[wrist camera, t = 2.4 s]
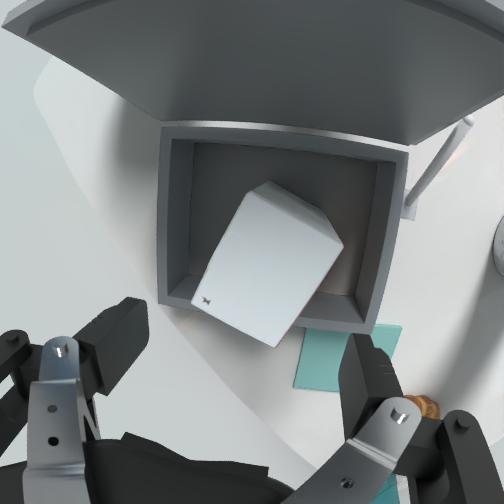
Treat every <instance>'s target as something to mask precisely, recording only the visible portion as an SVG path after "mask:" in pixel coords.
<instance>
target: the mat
mask: <svg viewBox="0 0 504 504" xmlns="http://www.w3.org/2000/svg"><path fill="white" fill-rule="evenodd" d="M401 330H402V327H401V326H396V325H383V324H375V325H374V329H373V332H372V334H370V336H371V338H372V341H373V344H374V347H375V348H381V349H382V350H383V351H384V352H385V353H386V354H387V355H388V356H389V358H390V360H391V358H392V355H393V352H394V350H395V347H396V344H397V342H398V339H399V336H400V333H401ZM350 333H351V332H341V331H331V330H322V329H313V328H306V331H305V336H304V341H303V346H302V350H301V355H300V359H299V364H298V368H297V373H296V377H295V381H294V388H304V389H314V390H325V391H338V392H340V391H339V383H338V372H339V366H340V363H341V360H342V357H343V353H344V350H345V347H346V343H347V340H348V337H349V334H350ZM360 334H362V333H360Z"/></svg>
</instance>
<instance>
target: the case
mask: <svg viewBox="0 0 504 504" xmlns="http://www.w3.org/2000/svg"><path fill="white" fill-rule="evenodd" d="M473 124H474V120H473V117H472V116H471V115H468V116H466V117H464V118H462V119H461V120H459V122H458V124H457V125H456V127H455V128H454V130H453V131H452V133H451V134H450V136H449V137H448V139H447V140H446V142H445V143H444V145H443V146H442V148H441V149H440V151H439V152H438V153H437V155H436V156H435V158H434V159H433V161H432V162H431V163H430V165H429V166H428V168H427V169H426V170H425V172H424V173H423V175H422V176H421V177H420V179H419V180H418V181H417V183H416V184H415V186H414V187H413V188H412V190H407V189H405V182H406V174H407V166H408V156H409V153H408V152H404V151H399V150H395V149H390V148H386V147H381V146H376V145H371V144H365V143H360V142H354V141H348V140H342V139H336V138H329V137H322V136H315V135H307V134H299V133H290V132H280V131H270V130H257V129H243V128H223V127H162V131H161V143H160V157H159V174H158V197H157V285H158V304H163V305H168V306H173V307H178V308H183V309H188V310H194V311H199V312H205V311H203V310H201V309H200V308H198V307H196V306H194V305H192V304H191V301H192V299H193V297H194V294H195V292H196V290H197V288H198V286H199V284H200V282H201V280H202V278H203V276H197V275H191V274H188V267H189V231H190V207H191V189H192V173H193V159H194V146H195V142H196V143H221V144H237V145H251V146H263V147H274V148H284V149H293V150H301V151H309V152H317V153H324V154H331V155H337V156H344V157H350V158H356V159H362V160H367V161H373V162H378V164H377V172H376V181H375V188H374V195H373V202H372V209H371V215H370V221H369V227H368V233H367V239H366V244H365V249H364V255H363V260H362V264H361V269H360V274H359V279H358V283H357V287H356V292H355V296H354V297H352V296H343V295H335V294H326V293H318V292H315V293H314V295H313V296H312V298H311V299H310V301H309V302H308V303H307V305H306V306H305V308H304V309H303V311H302V312H301V314H300V315H299V316H298V318H297V319H296V321H295V322H294V324H293V325H292V326H297V327H305V328H313V329H322V330H331V331H341V332H351V333H362V334H372V332H373V329H374V325H375V322H376V319H377V315H378V312H379V308H380V305H381V301H382V297H383V294H384V290H385V286H386V282H387V278H388V274H389V270H390V265H391V261H392V256H393V252H394V247H395V242H396V237H397V232H398V227H399V221H400V218H402V219H408V220H413V221H414V220H415V214H416V208H417V202H418V197H419V196H420V194H421V193H422V192H423V191H424V190H425V188H426V187H427V186H428V185H429V183H430V182H431V181H432V180H433V178H434V177H435V176H436V174H437V173H438V172H439V171H440V169H441V168H442V167H443V165H444V164H445V163H446V161H447V160H448V159H449V158H450V156H451V155H452V154H453V152H454V151H455V149H456V148H457V147H458V145H459V144H460V143H461V141H462V140H463V138H464V137H465V136H466V134H467V133H468V131H469V130H470V129H471V127H472V126H473ZM205 313H207V312H205Z"/></svg>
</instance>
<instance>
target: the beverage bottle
mask: <svg viewBox="0 0 504 504" xmlns="http://www.w3.org/2000/svg"><path fill="white" fill-rule="evenodd" d="M396 481H397V480H396V475H395V474H392V473H391V474H390V476H389V477H388V479H387V480H386V482H385V483H384V485H383V486H382V487H381V489H380V490H379V492H378V493H377V494H376V496H375V497H374V498H373V500H372V501H371V502H370V504H400V502H399V496H398V489H397V487H398V486H397V482H396Z"/></svg>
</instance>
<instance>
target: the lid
mask: <svg viewBox="0 0 504 504" xmlns="http://www.w3.org/2000/svg"><path fill="white" fill-rule="evenodd" d="M1 27H2V28H4V29H6V30H8V31H10V32H12V33H14V34H15V35H17V36H19V37H21V38H23V39H25V40H27V41H29V42H31V43H32V44H34V45H36V46H38V47H40V48H41V49H43V50H45V51H47V52H49V53H50V54H52V55H54V56H56V57H57V58H59V59H61V60H63V61H64V62H66V63H68V64H69V65H71V66H73V67H74V68H76V69H78V70H80V71H81V72H83V73H85V74H86V75H88V76H89V77H91V78H93V79H94V80H96V81H98V82H99V83H101V84H103V85H104V86H106V87H107V88H109V89H111V90H112V91H114V92H115V93H117V94H118V95H120V96H122V97H123V98H125V99H126V100H128V101H129V102H131V103H132V104H134V105H135V106H137V107H139V108H140V109H142V110H143V111H145V112H146V113H148V114H149V115H151V116H152V117H154V118H155V119H159V120H160V121H177V120H201V121H234V122H252V123H266V124H277V125H287V126H297V127H305V128H313V129H321V130H328V131H334V132H341V133H347V134H353V135H358V136H364V137H369V138H374V139H379V140H384V141H389V142H393V143H398V144H402V145H406V146H409V145H410V144H412V145H417V144H418V143H420V142H422V141H424V140H425V139H427V138H429V137H431V136H432V135H434V134H436V133H438V132H439V131H441V130H443V129H445V128H446V127H448V126H450V125H452V124H453V123H455V122H457V121H459V120H461V119H462V118H464V117H466V116H468V115H469V114H471V113H473V112H475V111H476V110H478V109H480V108H482V107H484V106H485V105H487V104H489V103H491V102H492V101H494V100H496V99H498V98H500V97H501V96H503V95H504V0H27V1H25V2H23V3H22V4H20V5H19V6H17V7H16V8H14V9H13V10H11V11H10V12H9V13H8V14H7V17H6V18H5V20H4V22H3V24H2V26H1Z"/></svg>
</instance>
